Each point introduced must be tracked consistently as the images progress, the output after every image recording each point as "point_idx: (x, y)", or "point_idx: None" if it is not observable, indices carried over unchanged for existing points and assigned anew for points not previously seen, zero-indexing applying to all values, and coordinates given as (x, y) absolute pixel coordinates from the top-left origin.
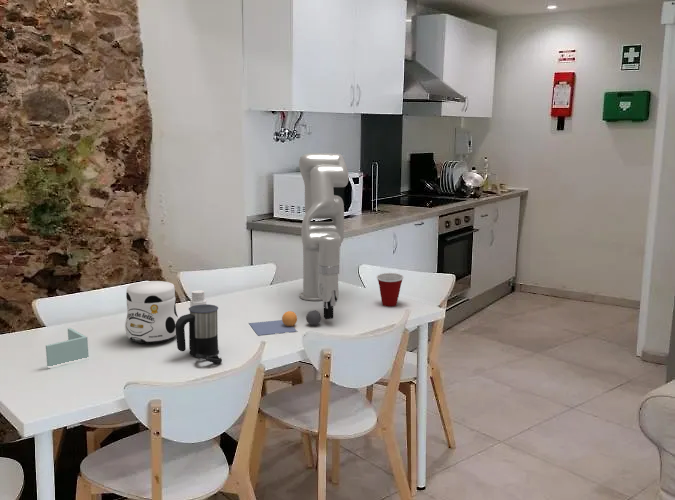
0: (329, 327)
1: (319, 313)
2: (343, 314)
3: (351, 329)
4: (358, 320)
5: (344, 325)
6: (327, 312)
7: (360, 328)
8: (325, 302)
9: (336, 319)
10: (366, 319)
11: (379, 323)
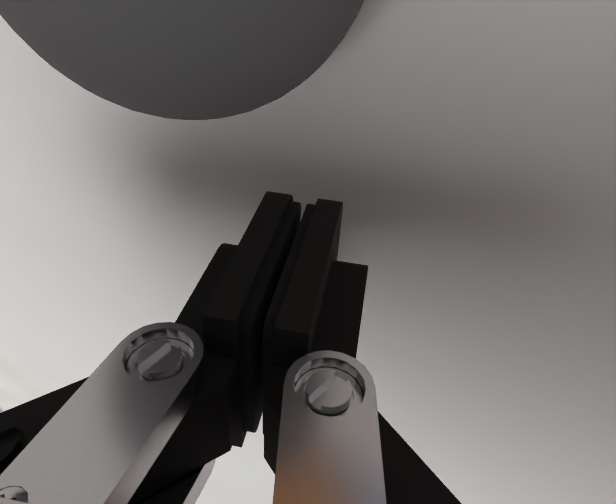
0: (81, 125)
1: (83, 85)
2: (509, 463)
3: (3, 297)
4: (262, 453)
5: (139, 306)
6: (209, 290)
7: (34, 365)
8: (279, 490)
9: (379, 342)
10: (267, 496)
11: None
